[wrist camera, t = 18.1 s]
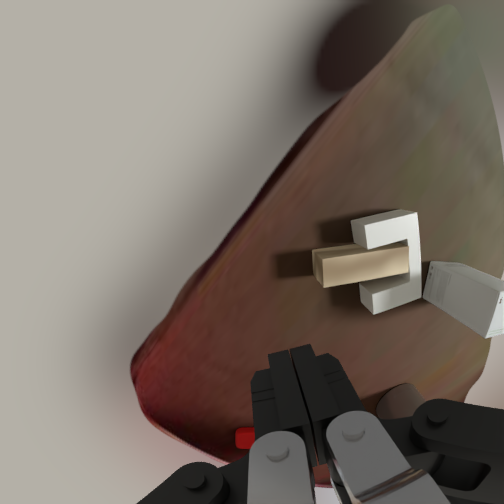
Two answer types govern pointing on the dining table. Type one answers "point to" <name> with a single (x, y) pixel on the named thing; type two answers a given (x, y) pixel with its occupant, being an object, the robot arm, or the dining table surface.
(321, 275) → the beige wooden block
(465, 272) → the skincare box
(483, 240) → the dining table surface
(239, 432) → the popsicle
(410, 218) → the end cap
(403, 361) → the dining table surface
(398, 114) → the dining table surface
